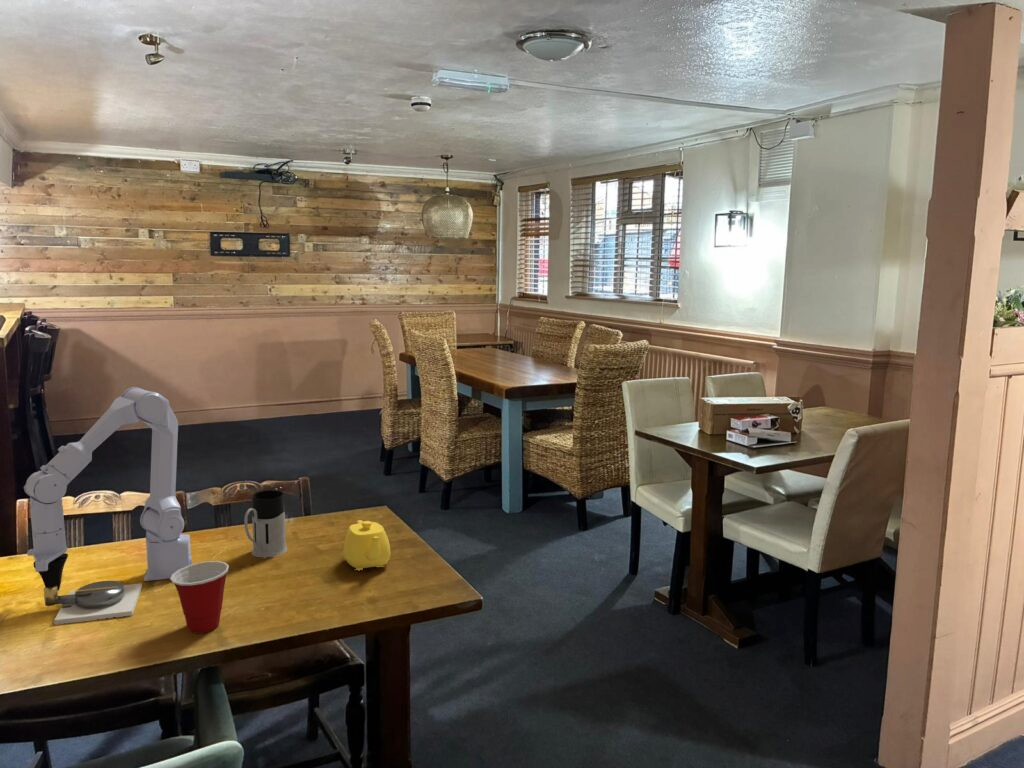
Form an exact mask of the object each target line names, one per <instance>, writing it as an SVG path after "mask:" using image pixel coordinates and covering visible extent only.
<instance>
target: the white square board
mask: <svg viewBox="0 0 1024 768" xmlns="http://www.w3.org/2000/svg"><path fill="white" fill-rule="evenodd" d="M123 585H124V597H123V598H122V599H121V600H119V601H118V602H116V603H113V604H111V605H108V606H104V607H98V608H82V607H79V606H77V605H76V603H67V604H61V605H62V606H61V608H60V609H59V610H58V612H57V615H56V617H55V618H54V620H53V623H54V626H55V625H62V624H63V625H64V623H65V624H73V623H82V622H89V621H90V620H91V621H98V620H97V619H99V620H105V619H106V618H108V619H114V618H113V617H116V618H123V617H124V616H125V617H132V616H133V615H134V611H135V609H136V605H137V603H138V600H139V597H140V594H141V591H142V588H143V584H142V583H134V584H133V583H132V584H123ZM76 590H77V589H75V590H70V591H69V592H68V595H72V594H75V591H76ZM106 620H107V619H106ZM91 621H90V622H91Z"/></svg>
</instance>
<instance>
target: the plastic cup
mask: <svg viewBox="0 0 1024 768" xmlns="http://www.w3.org/2000/svg"><path fill="white" fill-rule="evenodd" d="M229 567H230V565H229V564H228V563H226V562H224V561H219V560H215V561H213V560H210V561H203V562H197V563H192V565H189V566H186V567H184V568H181V569H179V570H177V571H176V572H175V573H173V574H172V576H171V578H170V579H169V580H170V581H171V582H172V583H173V584H174V587H175V588H176V591H177V593H178V597H179V598H178V599H179V600H180V606H181V609H182V613H183V615H184V617H185V623H186V626H187V628H188V630H189V632H191V633H193V634H205V633H208V632H211V631H213V630H215V629H217V628H218V627H219V624H220V623H221V622H220V621H221V613H222V608H223V600H224V595H225V594H224V593H225V585H226V580H227V579H226V578H227V574H228V572H229Z"/></svg>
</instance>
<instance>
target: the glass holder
mask: <svg viewBox="0 0 1024 768" xmlns="http://www.w3.org/2000/svg"><path fill="white" fill-rule="evenodd" d="M284 494H285V493H284V492H282V491H281V490H274V489H273V490H272V489H271V490H270V489H269V490H268V489H267V490H261V491H257V492H255V493H253V494H252V495H251V496H252V497H251V500H252V501H251V502H252V507H251V508H248V509H247V510H246V512H245V514H244V521H243V523H244V530H245V533H246V536H247V539H248V540H249V541H250V542H252V543H253V544H252V547H253V548H252V550H251V555H252V554H253V555H254V556H257V557H264V558H263V559H267V558H266V557H274V556H277V555H280V554H282V553H284V552H286V551H287V548H288V547H287V543H286V542H287V541H286V507H285V498H284V497H285V496H284ZM250 512H252V515H251V517H252V519H251V520H252V536H251V534H250V531H249V527H248V516H249V514H250ZM287 552H288V551H287ZM253 555H252V556H253ZM254 556H253V557H254ZM257 557H256V558H257ZM274 558H275V557H274Z"/></svg>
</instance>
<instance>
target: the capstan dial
mask: <svg viewBox="0 0 1024 768" xmlns="http://www.w3.org/2000/svg"><path fill="white" fill-rule="evenodd" d="M124 585H125V584H124V583H123V582H121V581H118V580H102V581H101V580H100V581H95V582H91V583H88V584H85V585H83V586H80V588H78V589H75V590H76V591H75V590H74V591H75V594H72V595H69V594H64V595H63V594H62V595H59V591H58V589H57V586H56V585H50V586H47V587H43V597H44V606H45V607H52V606H53V607H54V606H57V605H63V604H67V603H76V605H77V606H79V607H82V608H98V607H104V606H108V605H111V604H113V603H116V602H118V601H119V600H121V599H122V598H123V597H124Z"/></svg>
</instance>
